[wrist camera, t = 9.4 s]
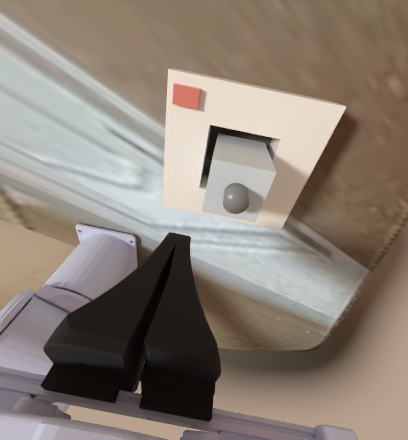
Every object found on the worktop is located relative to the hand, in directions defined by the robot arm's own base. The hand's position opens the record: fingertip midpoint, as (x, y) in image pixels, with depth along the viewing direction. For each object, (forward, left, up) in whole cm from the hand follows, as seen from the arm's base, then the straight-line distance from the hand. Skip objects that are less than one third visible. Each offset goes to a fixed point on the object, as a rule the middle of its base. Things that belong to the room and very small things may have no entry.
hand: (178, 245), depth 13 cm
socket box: (+3, -3, -10) cm, 11 cm away
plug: (+3, -3, -10) cm, 11 cm away
